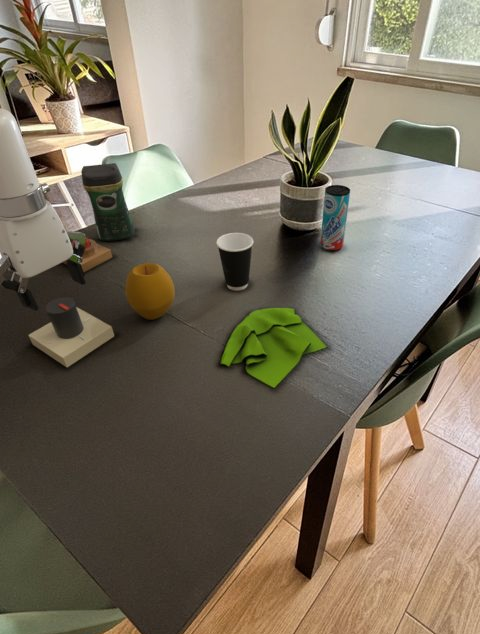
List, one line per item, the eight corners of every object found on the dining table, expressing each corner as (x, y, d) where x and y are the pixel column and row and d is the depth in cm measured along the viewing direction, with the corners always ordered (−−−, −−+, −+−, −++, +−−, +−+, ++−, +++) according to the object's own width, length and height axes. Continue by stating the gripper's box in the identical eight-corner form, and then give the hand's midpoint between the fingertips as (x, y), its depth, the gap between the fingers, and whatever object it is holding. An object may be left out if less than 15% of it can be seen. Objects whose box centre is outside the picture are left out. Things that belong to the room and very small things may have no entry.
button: (71, 247, 104) (69, 241, 103) (84, 241, 106) (82, 235, 105) (80, 251, 103) (78, 245, 101) (93, 245, 105) (91, 239, 104)
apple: (165, 333, 85) (155, 284, 77) (122, 324, 87) (108, 275, 80) (186, 305, 92) (178, 257, 84) (146, 298, 94) (134, 250, 86)
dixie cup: (213, 288, 97) (208, 244, 90) (232, 272, 102) (229, 229, 95) (242, 298, 94) (240, 253, 87) (261, 281, 99) (260, 237, 92)
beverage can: (315, 246, 111) (319, 189, 101) (330, 239, 114) (336, 182, 104) (332, 254, 108) (338, 196, 98) (347, 247, 111) (355, 190, 101)
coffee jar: (134, 226, 120) (119, 158, 108) (135, 239, 114) (119, 168, 102) (99, 231, 118) (79, 161, 106) (98, 244, 113) (77, 172, 100)
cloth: (294, 302, 93) (294, 293, 91) (342, 369, 77) (343, 359, 76) (203, 323, 87) (201, 314, 86) (234, 399, 72) (234, 389, 71)
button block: (60, 261, 106) (54, 247, 104) (90, 247, 112) (85, 233, 109) (82, 273, 102) (77, 258, 100) (112, 257, 108) (108, 243, 105)
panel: (32, 344, 83) (27, 334, 81) (80, 316, 90) (76, 306, 88) (67, 367, 78) (62, 357, 76) (114, 336, 85) (111, 325, 83)
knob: (51, 332, 82) (39, 305, 78) (73, 319, 85) (63, 293, 80) (66, 342, 80) (55, 315, 75) (89, 328, 83) (79, 302, 78)
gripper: (53, 178, 72) (84, 267, 83) (-52, 216, 61) (-1, 311, 73) (81, 188, 68) (109, 279, 80) (-26, 229, 58) (24, 326, 70)
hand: (56, 294), depth 76 cm, fingers open, 9 cm apart
